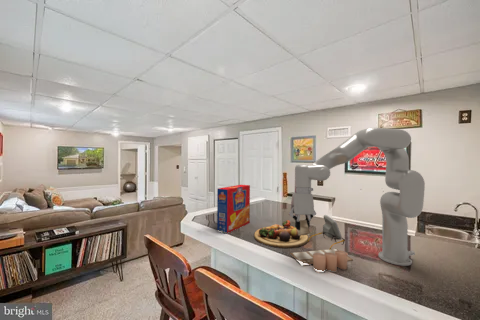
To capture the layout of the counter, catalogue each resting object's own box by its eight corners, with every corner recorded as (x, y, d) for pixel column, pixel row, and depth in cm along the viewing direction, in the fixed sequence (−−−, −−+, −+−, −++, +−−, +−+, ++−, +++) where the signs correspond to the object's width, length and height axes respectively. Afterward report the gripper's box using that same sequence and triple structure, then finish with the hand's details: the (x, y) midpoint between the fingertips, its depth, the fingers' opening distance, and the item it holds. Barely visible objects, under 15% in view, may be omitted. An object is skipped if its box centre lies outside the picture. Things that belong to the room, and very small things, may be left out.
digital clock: (342, 240, 122) (342, 221, 122) (325, 238, 124) (326, 220, 124) (336, 231, 138) (336, 214, 138) (321, 229, 140) (321, 214, 140)
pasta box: (227, 234, 131) (227, 189, 131) (217, 231, 135) (217, 188, 135) (249, 223, 154) (249, 185, 155) (240, 221, 159) (240, 184, 159)
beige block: (306, 235, 100) (302, 222, 103) (309, 232, 97) (306, 220, 100) (298, 235, 99) (295, 222, 102) (302, 233, 96) (298, 220, 99)
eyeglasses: (346, 246, 114) (346, 238, 114) (328, 251, 107) (328, 244, 107) (323, 237, 127) (323, 231, 127) (307, 242, 119) (307, 235, 120)
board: (335, 249, 109) (335, 247, 109) (353, 260, 97) (353, 258, 97) (289, 254, 103) (289, 252, 103) (301, 266, 91) (301, 263, 91)
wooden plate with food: (274, 226, 149) (274, 214, 149) (318, 237, 126) (317, 223, 126) (243, 238, 126) (243, 225, 126) (289, 255, 103) (289, 238, 103)
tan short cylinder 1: (321, 266, 92) (321, 252, 92) (328, 272, 87) (328, 257, 87) (310, 267, 91) (310, 253, 91) (317, 273, 86) (317, 258, 86)
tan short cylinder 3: (342, 263, 94) (342, 249, 94) (350, 268, 90) (350, 254, 90) (332, 264, 93) (332, 250, 93) (340, 269, 88) (340, 255, 89)
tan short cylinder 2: (331, 265, 92) (331, 251, 92) (339, 271, 87) (339, 257, 87) (321, 266, 91) (321, 252, 91) (329, 272, 86) (329, 258, 86)
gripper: (314, 189, 105) (313, 225, 105) (283, 189, 102) (282, 227, 102) (323, 191, 98) (322, 230, 98) (290, 192, 94) (289, 232, 94)
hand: (302, 228), depth 100 cm, fingers closed on beige block, 4 cm apart
